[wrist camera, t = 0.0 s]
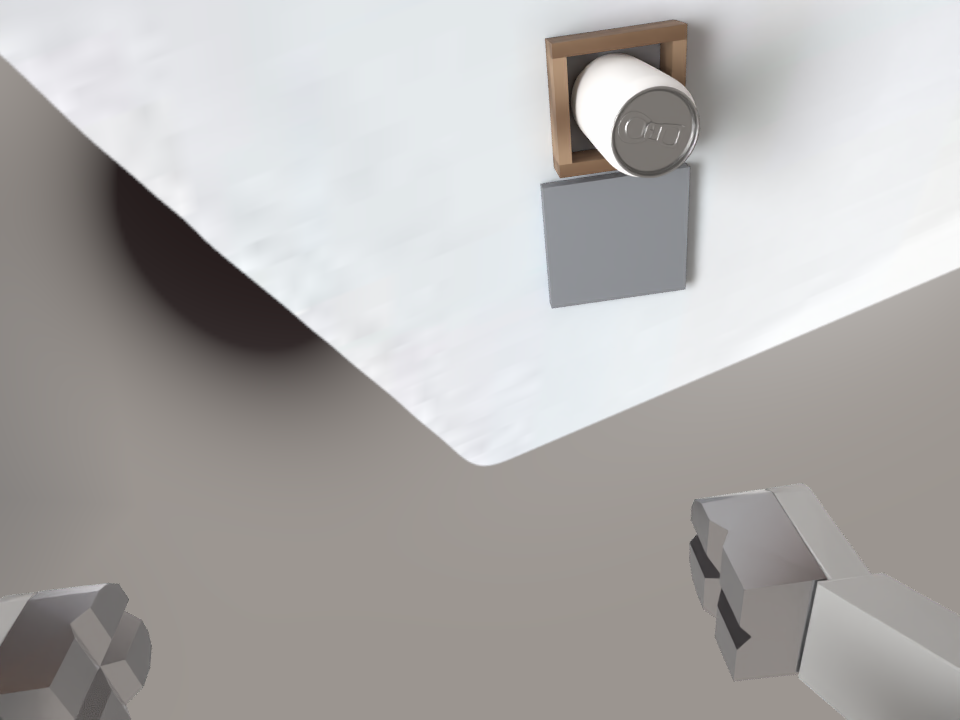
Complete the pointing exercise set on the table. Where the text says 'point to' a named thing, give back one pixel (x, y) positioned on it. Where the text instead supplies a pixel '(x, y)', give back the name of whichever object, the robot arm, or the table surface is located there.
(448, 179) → the table surface
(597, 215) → the coaster
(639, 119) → the can
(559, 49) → the square wooden frame
